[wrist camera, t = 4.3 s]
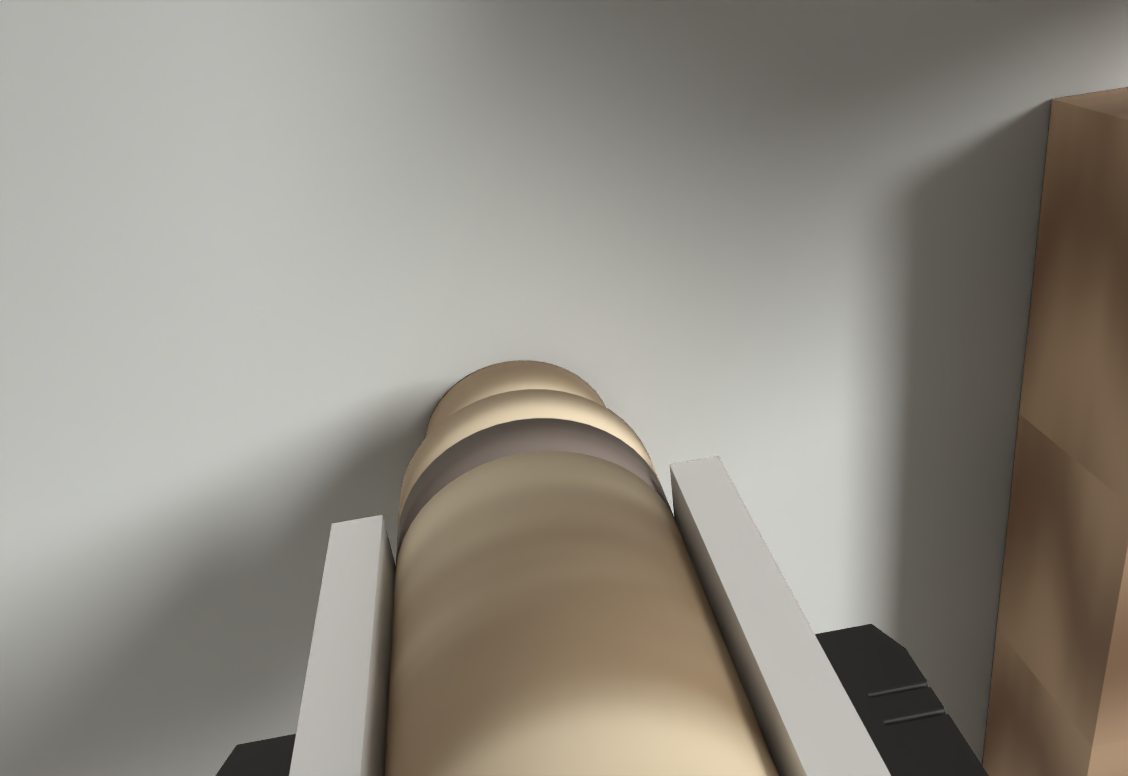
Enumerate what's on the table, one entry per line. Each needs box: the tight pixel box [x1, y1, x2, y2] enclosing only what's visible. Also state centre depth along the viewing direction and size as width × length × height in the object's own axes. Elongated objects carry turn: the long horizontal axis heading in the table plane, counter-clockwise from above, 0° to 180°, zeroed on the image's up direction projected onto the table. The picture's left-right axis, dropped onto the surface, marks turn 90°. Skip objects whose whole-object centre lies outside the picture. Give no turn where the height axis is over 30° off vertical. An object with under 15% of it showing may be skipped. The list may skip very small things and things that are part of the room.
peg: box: [384, 361, 780, 776], centre depth 12 cm, size 4×4×14 cm
